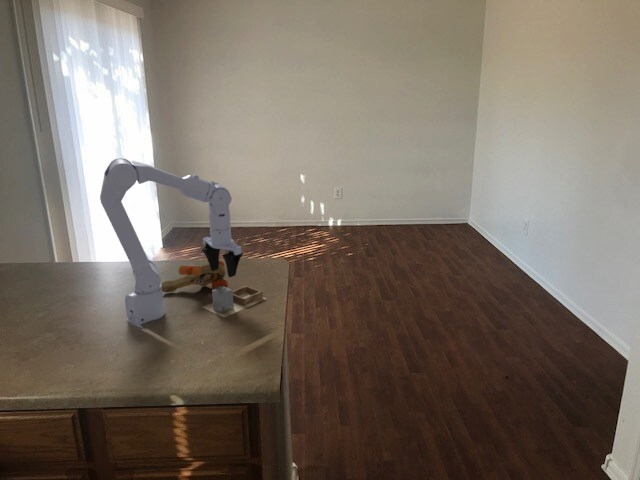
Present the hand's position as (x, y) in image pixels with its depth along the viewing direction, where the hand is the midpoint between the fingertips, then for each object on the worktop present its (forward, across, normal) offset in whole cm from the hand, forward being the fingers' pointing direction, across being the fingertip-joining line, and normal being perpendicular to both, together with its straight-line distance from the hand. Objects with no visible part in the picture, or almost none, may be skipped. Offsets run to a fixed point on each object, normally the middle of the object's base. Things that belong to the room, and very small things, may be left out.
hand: (223, 272), depth 147 cm
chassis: (+10, -3, -1) cm, 10 cm away
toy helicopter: (+8, +14, -4) cm, 17 cm away
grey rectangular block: (+9, -4, +4) cm, 11 cm away
